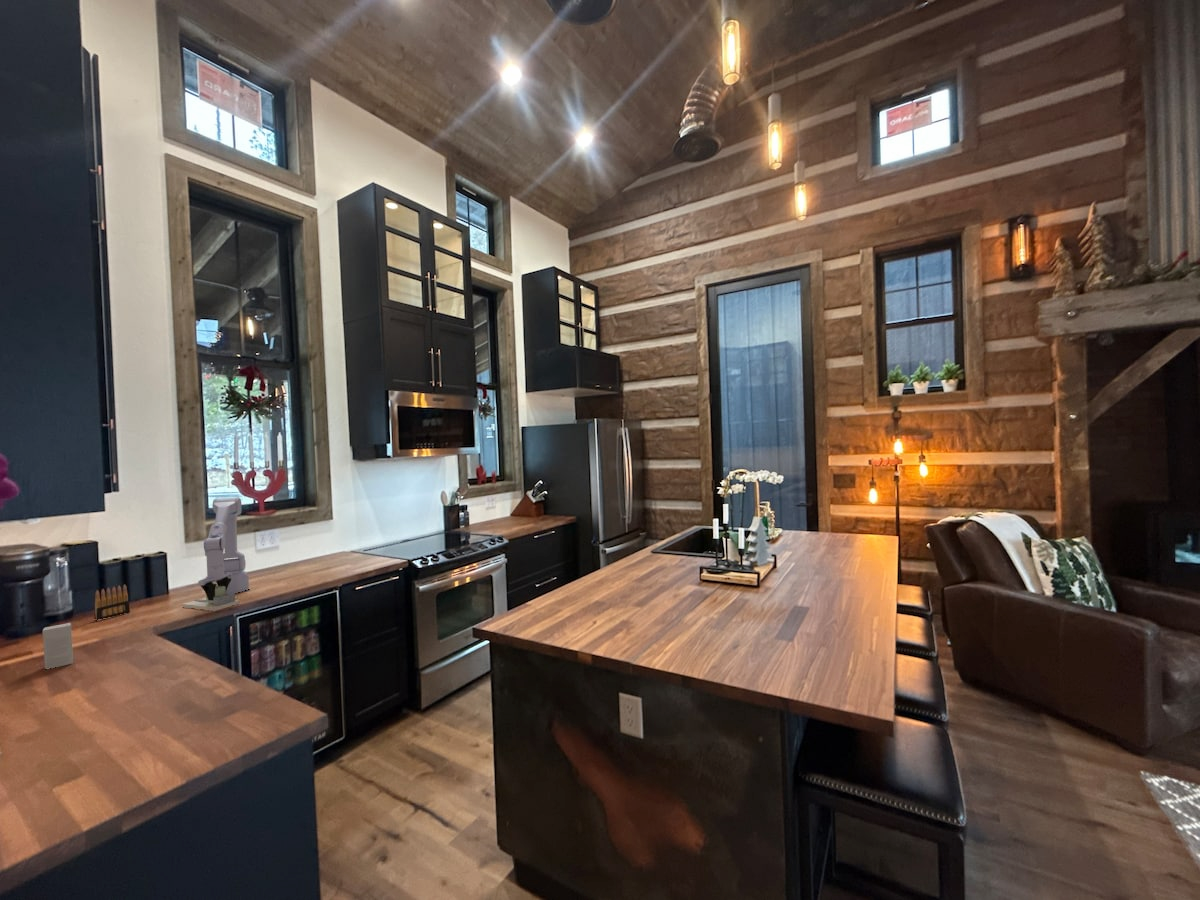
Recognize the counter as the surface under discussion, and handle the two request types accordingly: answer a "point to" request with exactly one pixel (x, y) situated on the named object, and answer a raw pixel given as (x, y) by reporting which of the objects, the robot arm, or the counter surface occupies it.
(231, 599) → the end stop
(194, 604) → the track board
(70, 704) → the counter surface
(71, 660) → the skincare box
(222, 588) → the keeper
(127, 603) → the ammunition clip
